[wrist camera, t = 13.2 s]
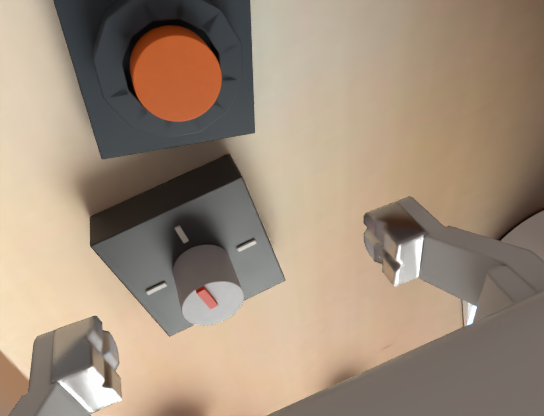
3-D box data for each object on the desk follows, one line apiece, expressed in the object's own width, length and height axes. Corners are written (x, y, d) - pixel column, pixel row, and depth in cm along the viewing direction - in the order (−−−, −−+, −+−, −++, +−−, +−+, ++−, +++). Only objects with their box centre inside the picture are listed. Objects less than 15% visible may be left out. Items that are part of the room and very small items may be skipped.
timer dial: (238, 269, 30) (254, 308, 27) (189, 295, 30) (200, 337, 27) (215, 234, 27) (230, 274, 24) (161, 263, 27) (170, 307, 24)
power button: (216, 101, 22) (225, 115, 20) (139, 113, 21) (142, 128, 19) (209, 20, 19) (218, 30, 18) (120, 29, 18) (123, 39, 17)
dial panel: (273, 255, 35) (286, 282, 32) (163, 307, 34) (169, 338, 31) (229, 153, 27) (243, 177, 25) (89, 216, 26) (89, 248, 24)
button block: (247, 121, 26) (264, 146, 24) (101, 145, 24) (102, 176, 21) (238, -63, 20) (260, -57, 18) (40, -56, 18) (33, -47, 15)
